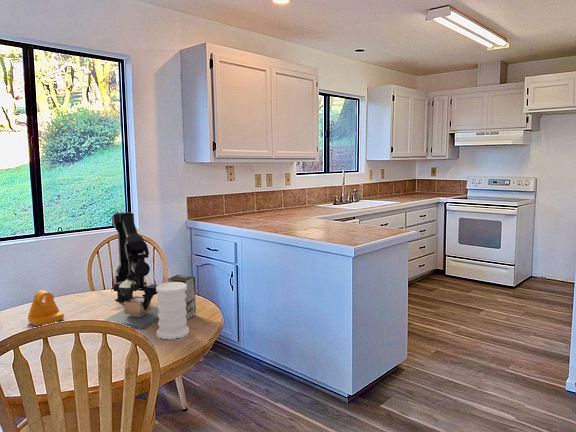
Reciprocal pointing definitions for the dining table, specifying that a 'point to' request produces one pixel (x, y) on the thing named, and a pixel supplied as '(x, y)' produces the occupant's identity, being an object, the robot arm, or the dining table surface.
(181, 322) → the decorative container
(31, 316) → the bracket
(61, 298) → the dining table surface
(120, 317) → the duct base
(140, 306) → the collar
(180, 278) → the coffee box
